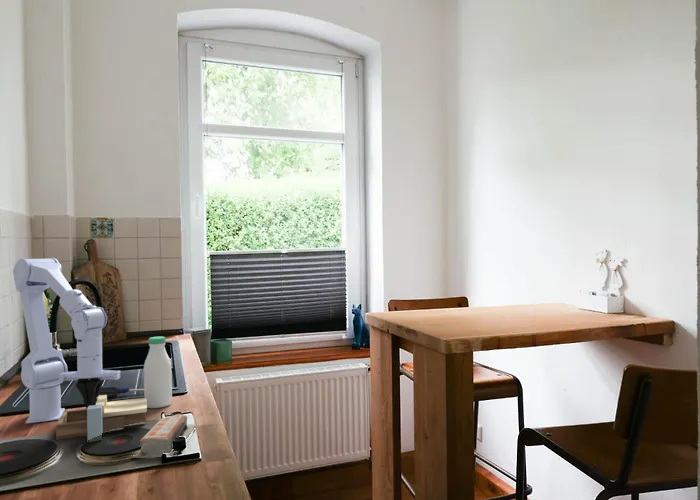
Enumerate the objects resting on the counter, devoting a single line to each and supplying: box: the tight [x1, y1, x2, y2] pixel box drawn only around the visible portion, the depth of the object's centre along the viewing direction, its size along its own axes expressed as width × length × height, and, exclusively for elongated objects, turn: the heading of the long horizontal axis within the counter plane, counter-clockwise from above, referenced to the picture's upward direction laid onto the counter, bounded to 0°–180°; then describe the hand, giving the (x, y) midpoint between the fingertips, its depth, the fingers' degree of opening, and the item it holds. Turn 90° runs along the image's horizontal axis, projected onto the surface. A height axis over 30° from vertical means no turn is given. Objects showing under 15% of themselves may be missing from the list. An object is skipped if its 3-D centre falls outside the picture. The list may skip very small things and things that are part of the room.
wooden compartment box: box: [55, 408, 146, 441], centre depth 130 cm, size 12×20×3 cm, turn 112°
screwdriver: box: [97, 384, 177, 398], centre depth 159 cm, size 26×4×4 cm, turn 112°
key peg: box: [86, 404, 104, 441], centre depth 120 cm, size 3×3×8 cm
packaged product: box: [133, 413, 197, 459], centre depth 118 cm, size 18×5×10 cm
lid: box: [95, 395, 148, 418], centre depth 132 cm, size 10×12×3 cm
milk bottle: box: [143, 335, 173, 409], centre depth 147 cm, size 8×8×20 cm
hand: (90, 407), depth 128 cm, fingers closed
